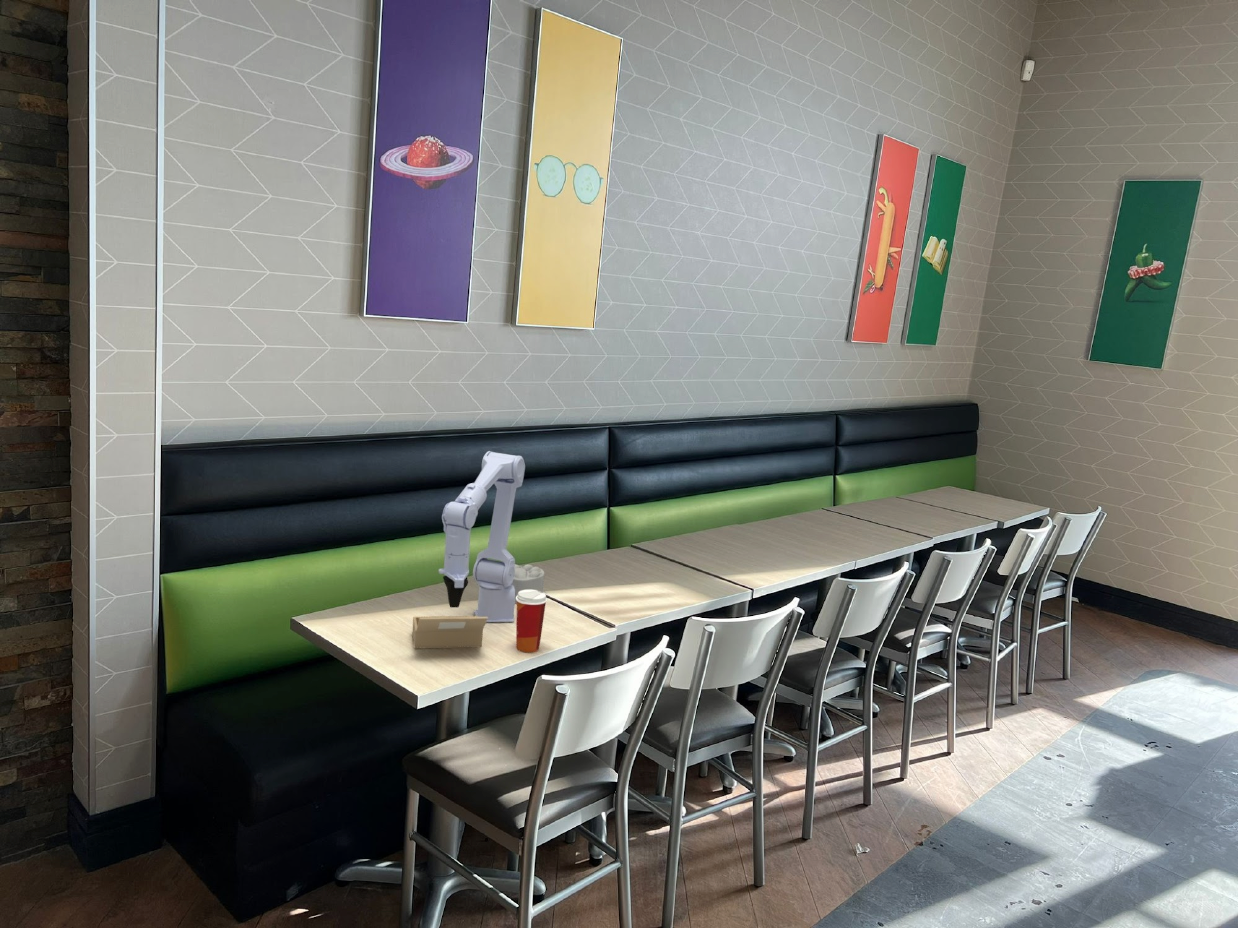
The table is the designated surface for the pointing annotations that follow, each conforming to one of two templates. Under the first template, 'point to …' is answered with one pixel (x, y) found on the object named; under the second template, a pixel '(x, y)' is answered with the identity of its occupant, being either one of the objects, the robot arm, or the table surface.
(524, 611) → the paper cup
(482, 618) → the lid flap
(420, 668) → the table surface
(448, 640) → the kraft box
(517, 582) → the clear tub of eggs
